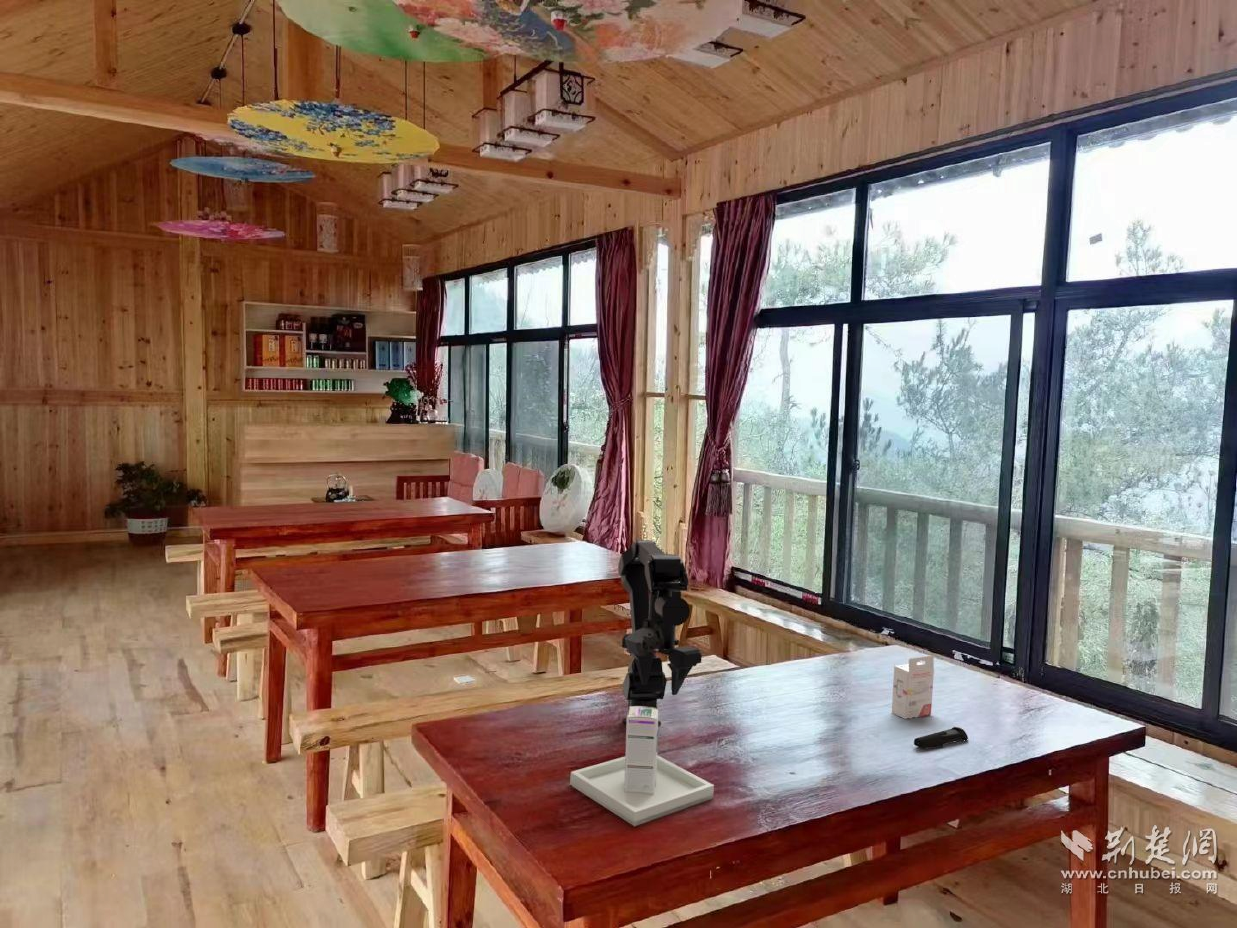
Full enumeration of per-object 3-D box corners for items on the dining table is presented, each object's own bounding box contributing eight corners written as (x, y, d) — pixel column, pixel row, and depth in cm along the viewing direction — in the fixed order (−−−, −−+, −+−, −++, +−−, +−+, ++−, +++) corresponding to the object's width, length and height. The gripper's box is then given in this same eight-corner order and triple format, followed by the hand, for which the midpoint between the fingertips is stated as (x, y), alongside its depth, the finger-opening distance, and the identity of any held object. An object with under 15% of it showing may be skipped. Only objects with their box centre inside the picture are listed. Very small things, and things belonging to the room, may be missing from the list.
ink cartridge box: (915, 708, 216) (920, 649, 215) (931, 715, 211) (936, 655, 210) (890, 712, 212) (894, 653, 211) (905, 719, 207) (909, 659, 206)
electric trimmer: (908, 748, 191) (909, 734, 191) (955, 736, 199) (956, 722, 199) (922, 755, 188) (923, 740, 188) (969, 742, 196) (970, 728, 196)
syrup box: (655, 794, 161) (658, 717, 159) (622, 792, 161) (626, 715, 160) (656, 781, 166) (659, 706, 165) (625, 778, 167) (628, 704, 166)
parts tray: (570, 784, 165) (570, 771, 165) (646, 761, 177) (647, 749, 177) (634, 826, 150) (635, 812, 150) (713, 798, 162) (713, 785, 162)
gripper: (604, 610, 184) (601, 684, 185) (665, 628, 170) (661, 707, 170) (643, 605, 191) (640, 676, 192) (705, 622, 177) (701, 698, 178)
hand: (659, 689), depth 183 cm, fingers open, 9 cm apart
